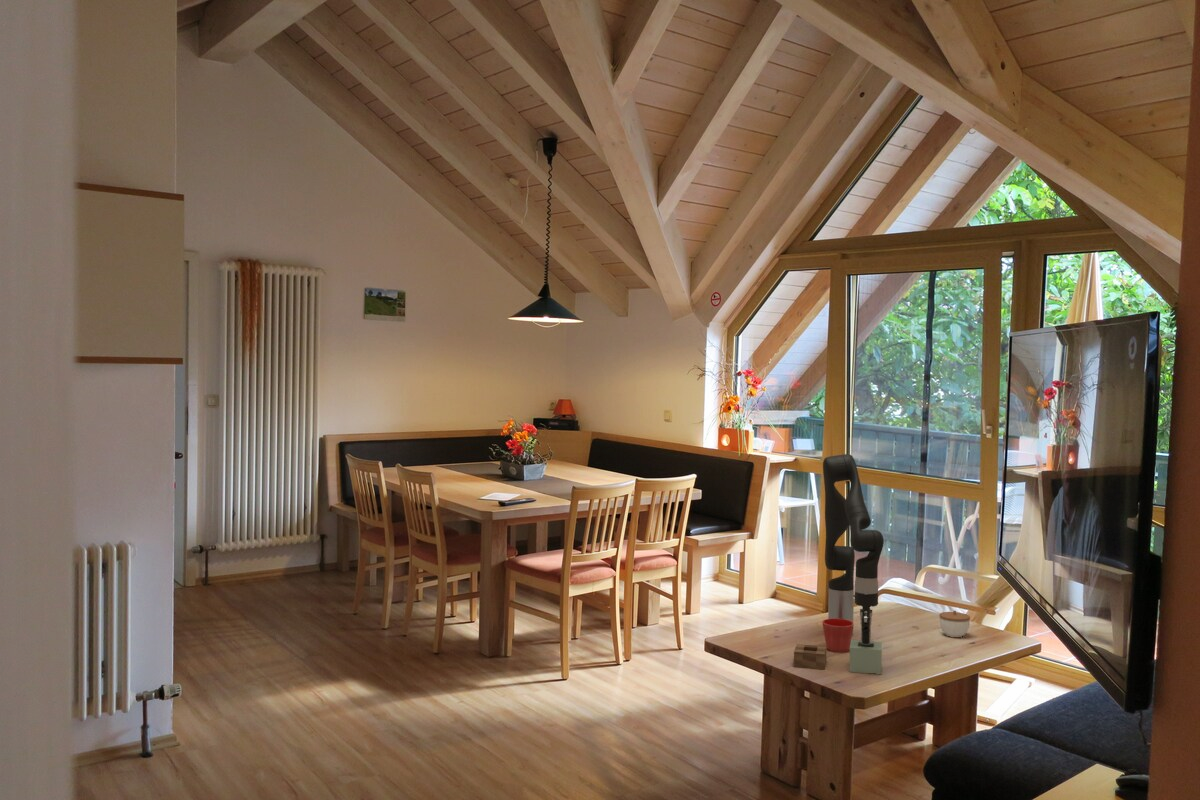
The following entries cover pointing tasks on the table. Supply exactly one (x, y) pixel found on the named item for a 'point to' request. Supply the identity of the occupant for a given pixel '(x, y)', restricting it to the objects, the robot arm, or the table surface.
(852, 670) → the block
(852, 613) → the robot arm
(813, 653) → the mount
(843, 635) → the flower pot
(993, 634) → the table surface
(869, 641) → the pin
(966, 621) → the lidded jar
